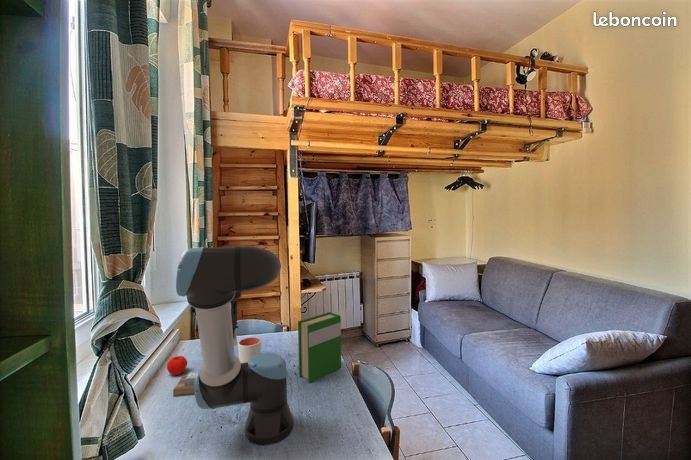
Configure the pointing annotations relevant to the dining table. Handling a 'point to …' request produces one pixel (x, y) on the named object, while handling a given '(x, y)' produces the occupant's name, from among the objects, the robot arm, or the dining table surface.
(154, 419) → the dining table surface
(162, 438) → the dining table surface
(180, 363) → the apple
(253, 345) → the cup
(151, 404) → the dining table surface
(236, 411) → the dining table surface
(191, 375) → the key three dots
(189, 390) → the key board
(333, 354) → the hardback book
